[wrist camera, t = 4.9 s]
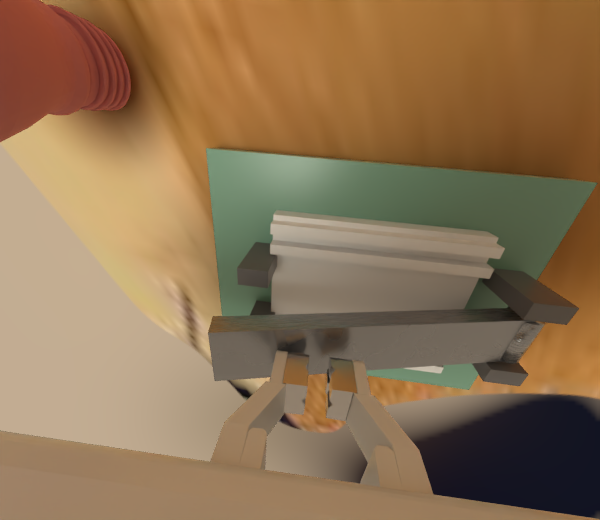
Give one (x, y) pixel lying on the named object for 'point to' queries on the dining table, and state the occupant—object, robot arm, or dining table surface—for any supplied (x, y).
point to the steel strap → (369, 339)
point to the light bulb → (55, 65)
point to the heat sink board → (388, 242)
